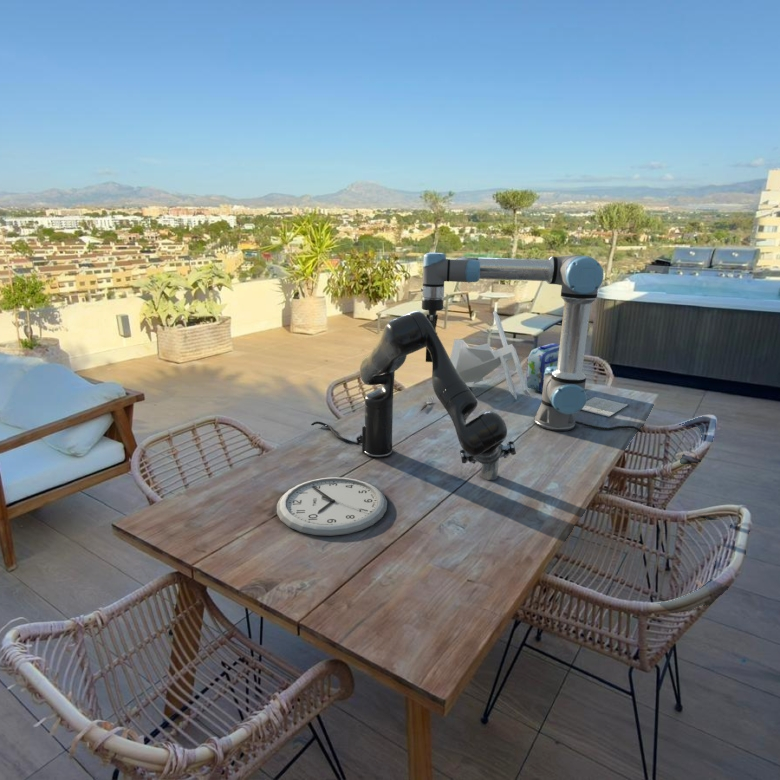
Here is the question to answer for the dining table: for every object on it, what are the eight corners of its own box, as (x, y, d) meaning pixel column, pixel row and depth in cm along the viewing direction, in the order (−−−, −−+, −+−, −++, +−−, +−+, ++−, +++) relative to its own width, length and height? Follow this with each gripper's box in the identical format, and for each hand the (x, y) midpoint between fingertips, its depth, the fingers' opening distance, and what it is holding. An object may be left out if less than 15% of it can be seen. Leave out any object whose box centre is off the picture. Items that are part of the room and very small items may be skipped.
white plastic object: (461, 429, 252) (437, 405, 227) (444, 352, 274) (420, 323, 250) (535, 404, 240) (518, 377, 215) (510, 326, 262) (492, 293, 237)
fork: (417, 411, 216) (418, 406, 216) (428, 400, 231) (428, 395, 230) (423, 412, 215) (424, 407, 215) (434, 400, 230) (434, 396, 229)
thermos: (478, 473, 163) (482, 422, 158) (493, 472, 164) (497, 421, 159) (484, 480, 158) (488, 428, 153) (499, 479, 159) (504, 427, 154)
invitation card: (608, 416, 214) (573, 407, 224) (608, 416, 214) (573, 408, 224) (628, 404, 229) (594, 396, 238) (628, 405, 229) (594, 397, 238)
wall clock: (392, 527, 129) (268, 531, 127) (391, 533, 130) (269, 537, 127) (383, 473, 158) (282, 475, 155) (383, 478, 158) (282, 480, 156)
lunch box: (542, 395, 240) (547, 351, 233) (522, 390, 247) (526, 347, 241) (569, 384, 257) (575, 343, 251) (550, 380, 264) (554, 339, 258)
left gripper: (511, 426, 128) (512, 438, 143) (454, 437, 131) (460, 448, 146) (518, 456, 126) (517, 465, 141) (459, 466, 128) (465, 474, 143)
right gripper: (424, 293, 195) (422, 349, 202) (419, 302, 172) (417, 365, 178) (444, 294, 195) (441, 350, 201) (442, 303, 171) (439, 366, 177)
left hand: (488, 456), depth 143 cm, fingers open, 8 cm apart
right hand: (430, 357), depth 190 cm, fingers open, 13 cm apart
